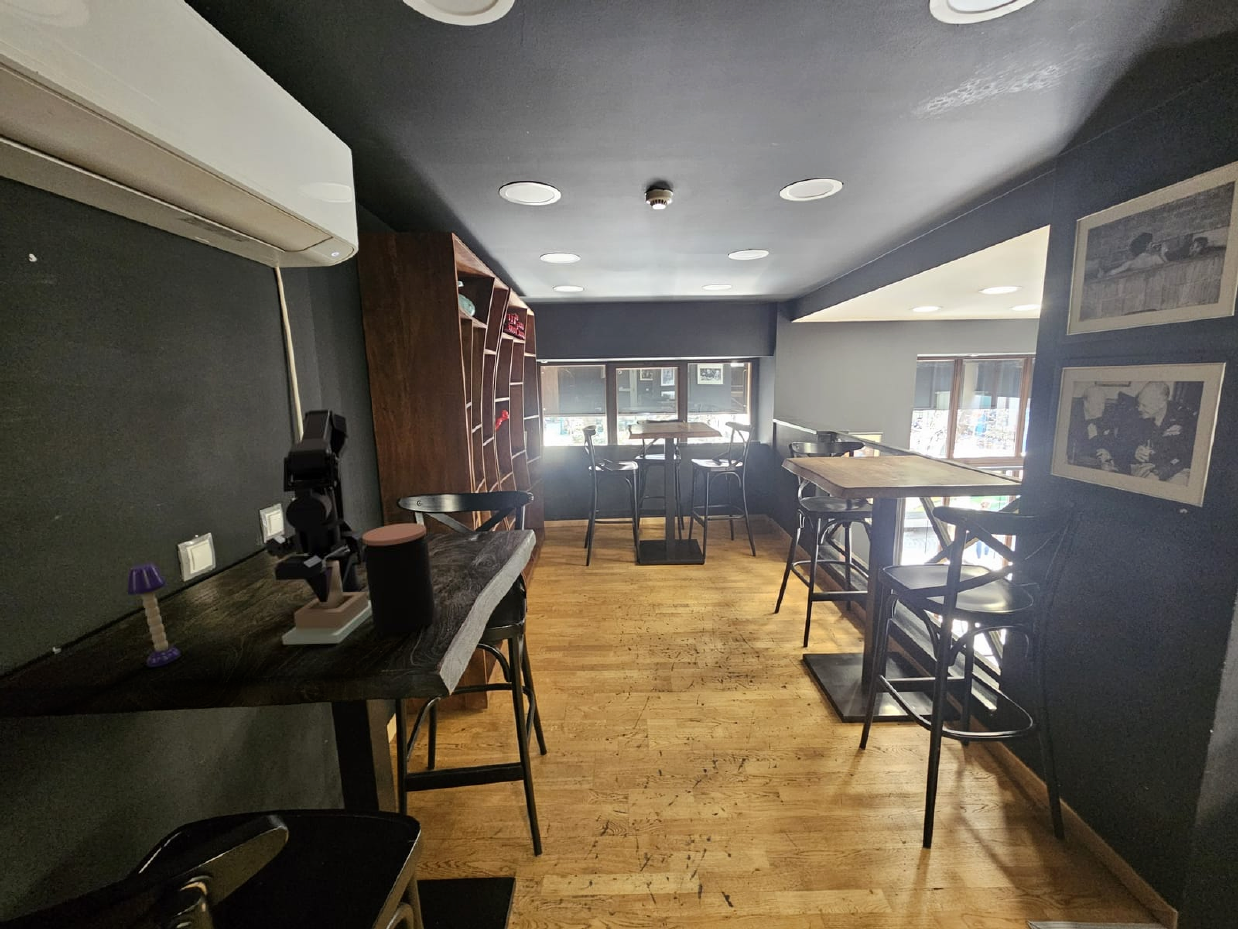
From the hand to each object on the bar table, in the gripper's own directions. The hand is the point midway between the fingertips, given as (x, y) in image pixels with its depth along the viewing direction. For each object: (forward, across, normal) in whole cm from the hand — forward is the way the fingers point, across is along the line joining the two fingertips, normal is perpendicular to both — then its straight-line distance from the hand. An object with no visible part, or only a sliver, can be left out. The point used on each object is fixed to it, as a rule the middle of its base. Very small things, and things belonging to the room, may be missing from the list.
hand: (331, 597), depth 92 cm
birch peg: (+2, 0, 0) cm, 2 cm away
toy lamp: (+6, +11, -23) cm, 26 cm away
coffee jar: (+6, +1, +14) cm, 15 cm away
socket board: (+6, 0, 0) cm, 6 cm away
